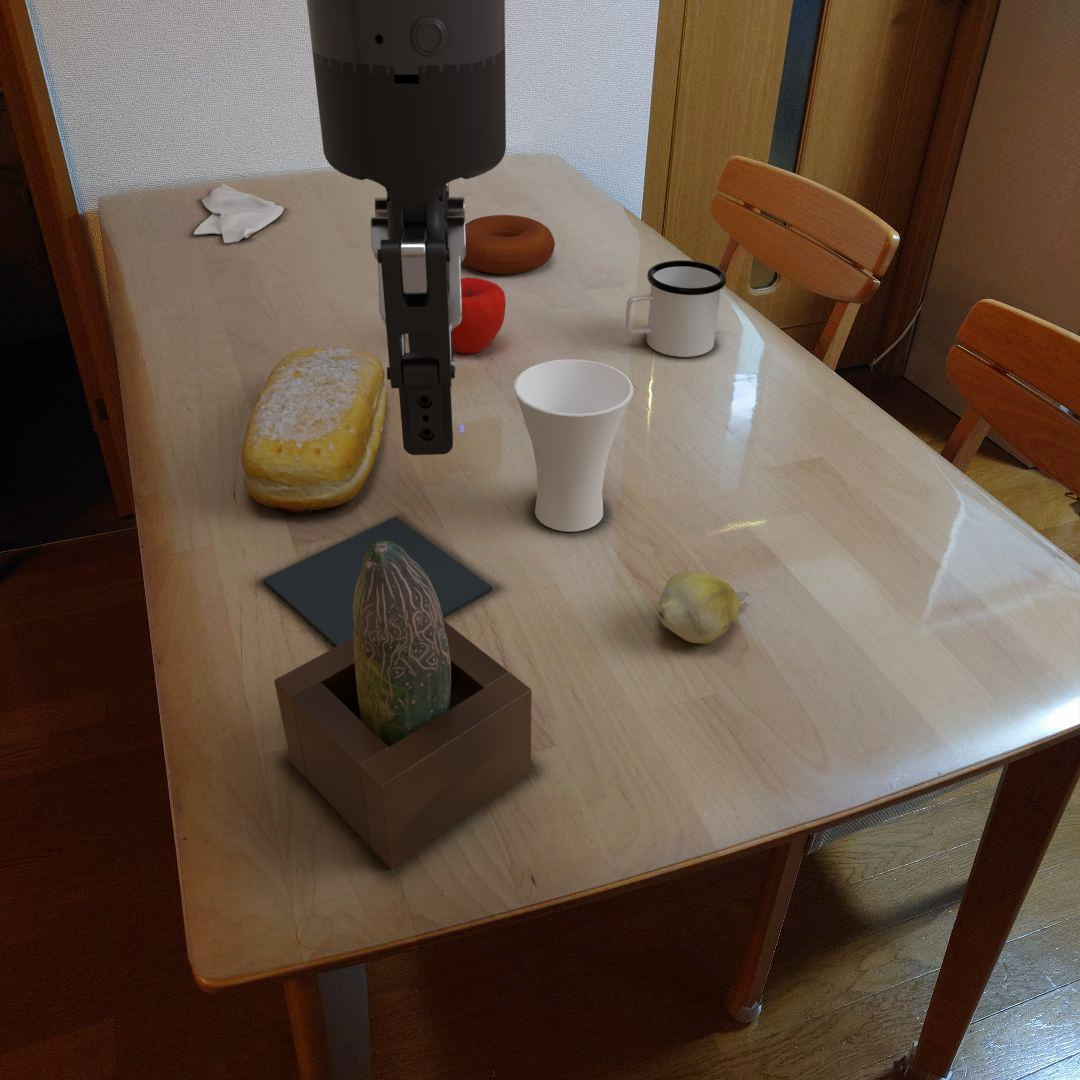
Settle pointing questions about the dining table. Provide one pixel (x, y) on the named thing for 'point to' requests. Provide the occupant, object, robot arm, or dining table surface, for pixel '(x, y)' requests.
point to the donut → (507, 244)
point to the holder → (407, 748)
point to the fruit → (698, 606)
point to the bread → (315, 429)
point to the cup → (571, 435)
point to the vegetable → (398, 645)
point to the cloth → (236, 214)
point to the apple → (478, 315)
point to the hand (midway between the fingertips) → (430, 404)
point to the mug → (681, 307)
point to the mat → (332, 576)
